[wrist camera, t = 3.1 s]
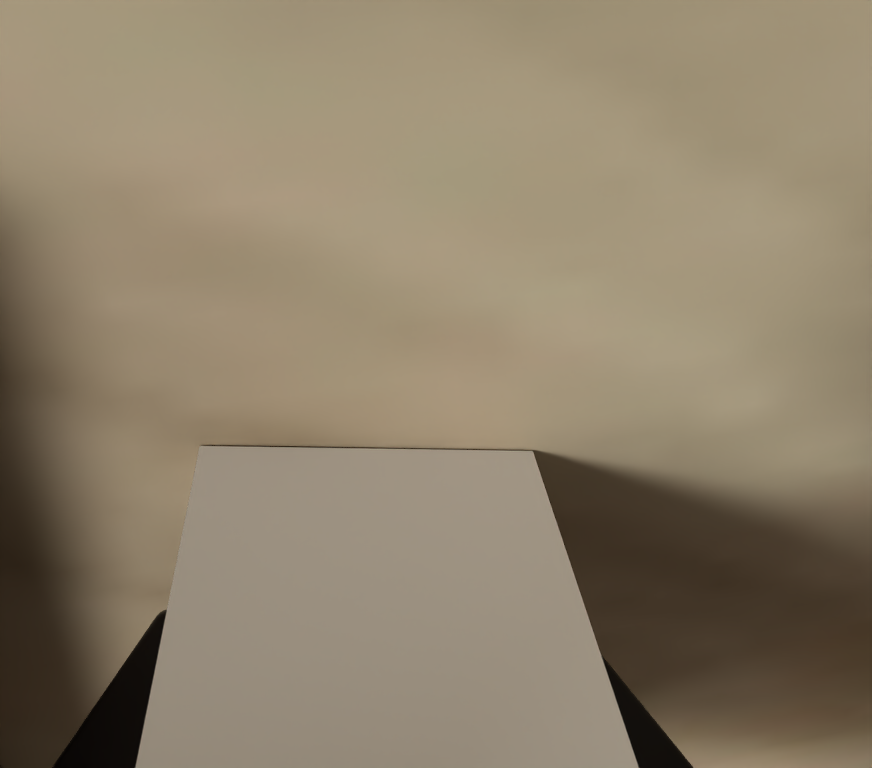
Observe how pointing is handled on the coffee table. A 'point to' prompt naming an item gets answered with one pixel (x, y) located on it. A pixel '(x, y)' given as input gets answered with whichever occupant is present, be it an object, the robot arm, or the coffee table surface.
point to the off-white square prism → (376, 619)
